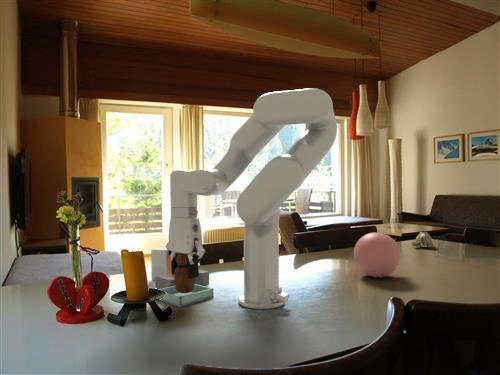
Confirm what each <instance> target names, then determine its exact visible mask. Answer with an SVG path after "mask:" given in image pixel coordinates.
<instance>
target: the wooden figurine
mask: <svg viewBox="0 0 500 375" xmlns="http://www.w3.org/2000/svg"><path fill="white" fill-rule="evenodd" d="M176 263H177V265H179V266H177V267H176V269H175V272H174V283H175V287H176V290H177V291H178V292H179V293H189V292H191V291H192V290H193V288H194V285H195V278H192V279H190V278H189V272H188V265H189V264H190V261H189V258H188V255H187V254H181V253H179V254H178V255H177V257H176Z"/></svg>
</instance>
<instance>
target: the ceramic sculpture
mask: <svg viewBox="0 0 500 375" xmlns="http://www.w3.org/2000/svg"><path fill="white" fill-rule="evenodd" d="M411 245H412V246H413V247H414V246H417V247H419V246H428V248H430V247H433V248H434V247H435V246H436V243H435V241H433V238H432V237H431V236H430V234H429V233H428V232H427V231H425V230H422V231H421V232H419V234H417V236H416V237H415V240H412V241H411Z"/></svg>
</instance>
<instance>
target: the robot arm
mask: <svg viewBox="0 0 500 375" xmlns="http://www.w3.org/2000/svg"><path fill="white" fill-rule="evenodd" d="M333 104H334V103H333V101H332V97H331V96H330V94H328V93H327V92H326V91H324V90H322V89H321V88H320V89H319V88H303V89H294V90H282V91H273V92H267V93H264V94H262V95H261V96H259V97H258V98H256V101H255V102H254V104H253V108H252V112H253V114H251V116H250V117H249V118H247V120H246V121H245V122H244V123H243V124H242V125H241V126H240V127H239V128H238V129H237V130H236V131H235V132H234V134H233V135H232V137H231V139H230V144H229V147H228V150H227V152H226V153H225V154H224V156H223V157H222V158H221V160H220V161H219V162H217V164H216V165H215V166H214V167H213V168H199V169H195V170H193V169H190V170H189V169H177V170H172V171H171V172H170V178H169V182H170V185H169V187H170V190H169V191H170V192H169V193H170V219H169V228H168V242H166V244H165V246H166V249H167V251H168V254H169V256H170V260H171V274H172V275H174V272H175V269H176V267H177V266H179V265H177V263H176V257H177V255H178V254H179V253H181V254H187V255H188V258H189V261H190V264H189V265H188V272H189V278H190V279H192V278H196V277H198V276H199V270H200V269H199V268H200V267H199V263H201V261H202V258H203V256H204V254H205V253H206V249H205V248H204V247H203V234H202V227H201V221H200V218H198V213H199V211H198V196H202V197H203V196H204V197H208V196H209V197H210V196H216V195H217V196H218V195H222V193H224V192H226V191H227V190H228V188H230V186H232V184H234V182H236V180H238V178H239V177H240V176H241V175H242V174H243V173H244V172H245V171H246V169H247V168H248V167H249V165H250V164H251V163H252V162H253V161H254V159H255V158H256V156H257V155H258V154H259V153H260V152H261V151H262V150H263V149H264V148H265V147H266V146H267V145H268V144H269V143H270V142H271V141H272V140H273V139H274V138H275V137H276V136H277V135H278V134H279V133H280V132H281V131H282V130H283V128H284V127H286V126H287V125H289V126H290V125H301V124H303V125H305V128H304V129H305V130H304V131H303V133H302V134H301V135H300V136H299V137H298V138H297V139H296V140H295V142H294V143H293V144H292V146H290V147H289V149H288V150H287V151H286V152H284V154H283V155H277V156H275V157H273V158H272V159H271V160H269V161H268V162H267V164H265V165H264V167H263V168H262V169H260V171H259V172H258V174H256V175H255V176H254V178H253V179H252V180H251V181H250V182H249V184H248V185H247V186H246V187H245V188H244V190H243V191H242V192H241V193H240V194H239V197H237V201H236V212H237V213H236V214H237V215H238V217H239V218H240V220H241V221H243V222H244V228H243V231H244V232H243V294H242V295H240V296H239V297H238V304H239V305H241V306H242V307H244V308H249V309H255V310H265V309H266V310H269V309H274V308H278V307H281V306H282V305H284V304H287V303H288V301H289V298H290V293H286V292H283V286H280V284H279V282H280V280H279V275H280V273H279V272H280V270H279V268H280V266H279V260H280V259H279V258H280V257H279V256H280V254H279V250H280V249H279V246H280V245H279V244H280V243H279V240H280V239H279V238H280V237H279V236H280V231H279V230H280V215H281V214H280V212H281V208H280V207H281V206H282V205H283V203H284V202H286V200H287V199H288V198H289V197H290V196H291V195H292V194H293V193H294V191H296V190H298V189H299V188H300V187H301V186H302V184H303V183H304V181H305V180H306V178H308V176H309V175H310V174H311V173H312V172H313V170H315V168H316V167H317V166H318V165H319V164H320V162H321V161H322V160H323V159H324V157H326V155H327V154H328V153H329V151H331V149H332V147H333V145H334V144H335V140H336V137H337V132H338V124H337V119H336V116H335V112H334V105H333Z"/></svg>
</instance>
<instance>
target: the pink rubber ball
mask: <svg viewBox="0 0 500 375" xmlns="http://www.w3.org/2000/svg"><path fill="white" fill-rule="evenodd" d="M353 260H354V262H355V265H356V266H357V268H358V269H359V270H360V271H361V272H362V273H363V274H365V275H366V276H369V277H371V276H372V277H371V278H377V277H379V278H385V277H387V276H390V275H391V274H392V273H394V272H395V271H396V270H397V268H398V266H399V265H400V263H401V262H400V261H401V251H400V248H399V246H398V244H397V243H396V241H395V240H394V239H393V238H392V237H391V236H389V235H388V234H385V233H381V232H369V233H367V234H364V235H363V236H361V237H360V238H359V239H358V240H357V241H356V243H355V245H354V249H353Z"/></svg>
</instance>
